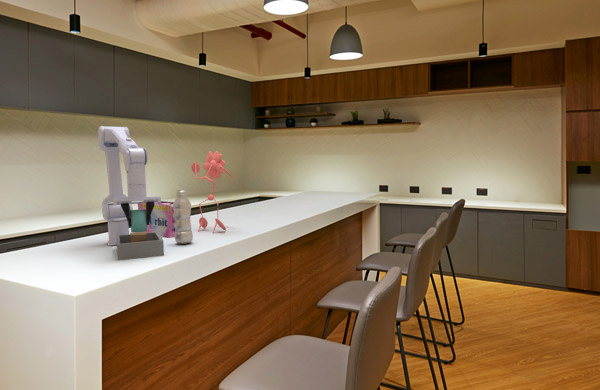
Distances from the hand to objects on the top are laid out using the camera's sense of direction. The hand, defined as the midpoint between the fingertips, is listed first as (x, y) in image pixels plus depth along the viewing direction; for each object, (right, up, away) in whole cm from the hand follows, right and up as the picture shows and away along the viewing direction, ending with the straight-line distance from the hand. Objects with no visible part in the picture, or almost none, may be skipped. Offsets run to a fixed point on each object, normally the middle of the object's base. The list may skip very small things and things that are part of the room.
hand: (138, 225), depth 138 cm
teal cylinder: (0, -2, 0) cm, 2 cm away
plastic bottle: (+10, -8, +17) cm, 22 cm away
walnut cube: (-3, -8, +8) cm, 12 cm away
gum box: (-6, -7, +40) cm, 41 cm away
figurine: (+17, -6, +46) cm, 49 cm away
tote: (-2, -10, +5) cm, 11 cm away
